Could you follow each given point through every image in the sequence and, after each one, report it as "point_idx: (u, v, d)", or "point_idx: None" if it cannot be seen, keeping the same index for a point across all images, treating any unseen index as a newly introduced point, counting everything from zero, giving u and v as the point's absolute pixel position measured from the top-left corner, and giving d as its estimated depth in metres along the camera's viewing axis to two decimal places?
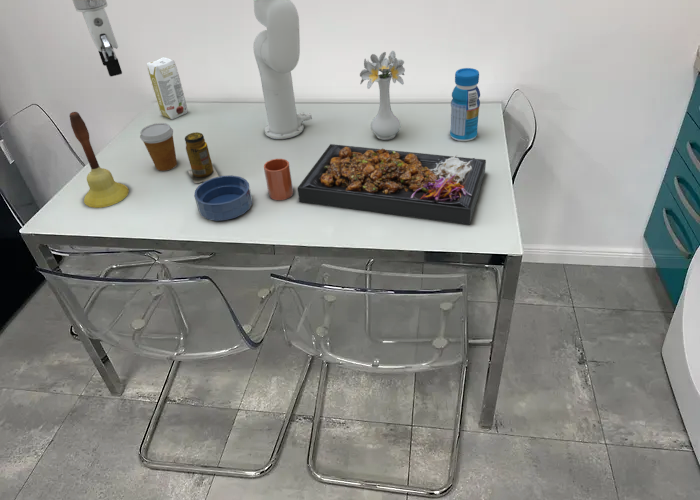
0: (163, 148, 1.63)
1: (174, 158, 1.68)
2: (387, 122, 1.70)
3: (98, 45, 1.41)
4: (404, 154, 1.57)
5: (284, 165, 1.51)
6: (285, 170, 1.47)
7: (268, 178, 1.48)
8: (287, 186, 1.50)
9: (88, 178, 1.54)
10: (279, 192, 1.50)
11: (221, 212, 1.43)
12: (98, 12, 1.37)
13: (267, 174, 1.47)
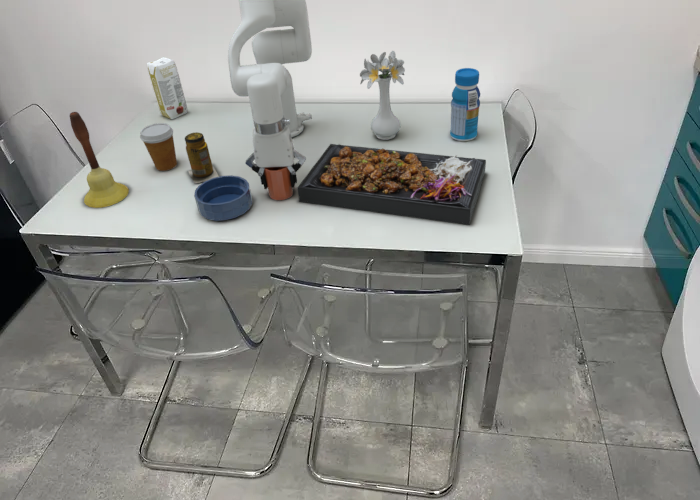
0: (163, 148, 1.63)
1: (174, 158, 1.68)
2: (387, 122, 1.70)
3: (292, 159, 1.45)
4: (404, 154, 1.57)
5: None
6: (285, 170, 1.47)
7: (268, 178, 1.48)
8: (287, 186, 1.50)
9: (88, 178, 1.54)
10: (279, 192, 1.50)
11: (221, 212, 1.43)
12: (288, 128, 1.43)
13: (267, 174, 1.47)
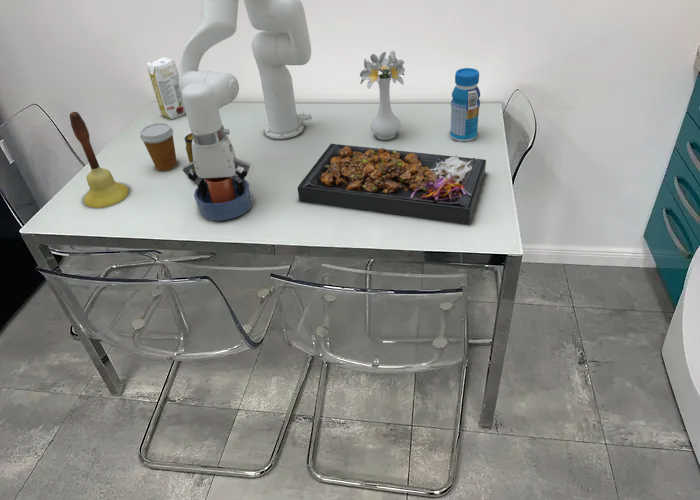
0: (163, 148, 1.63)
1: (174, 158, 1.68)
2: (387, 122, 1.70)
3: (233, 170, 1.41)
4: (404, 154, 1.57)
5: None
6: (227, 182, 1.43)
7: (210, 190, 1.44)
8: (230, 198, 1.46)
9: (88, 178, 1.54)
10: None
11: (221, 212, 1.43)
12: (228, 138, 1.39)
13: (208, 186, 1.44)
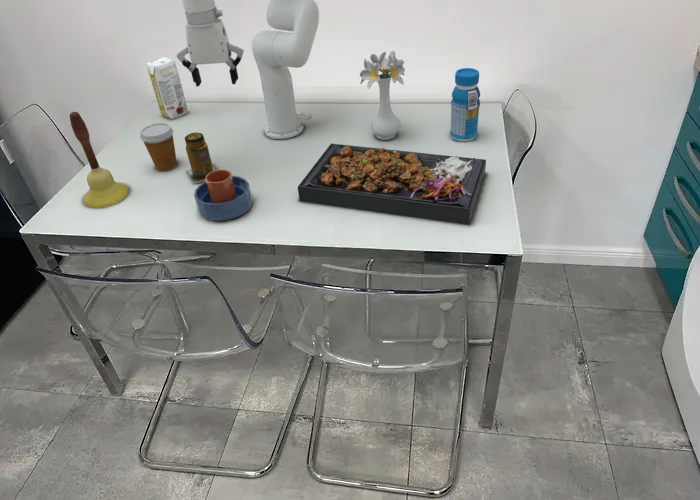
0: (163, 148, 1.63)
1: (174, 158, 1.68)
2: (387, 122, 1.70)
3: (227, 54, 1.43)
4: (404, 154, 1.57)
5: (227, 176, 1.47)
6: (227, 182, 1.43)
7: (210, 190, 1.44)
8: (230, 198, 1.46)
9: (88, 178, 1.54)
10: None
11: (221, 212, 1.43)
12: (221, 21, 1.41)
13: (208, 186, 1.44)
